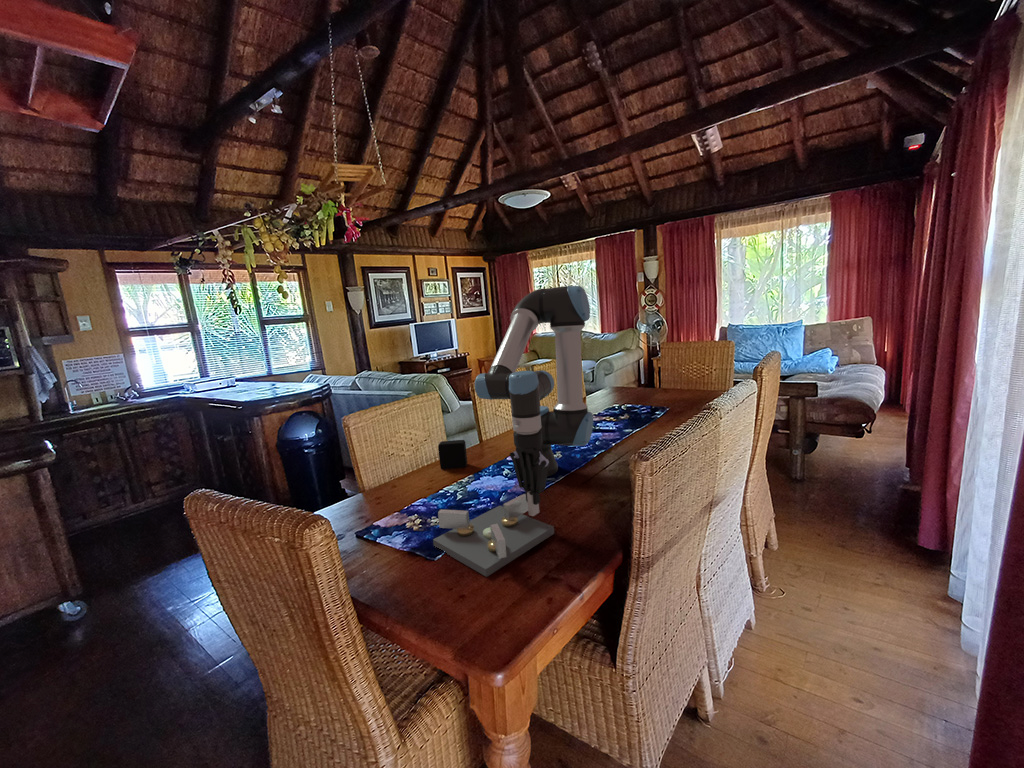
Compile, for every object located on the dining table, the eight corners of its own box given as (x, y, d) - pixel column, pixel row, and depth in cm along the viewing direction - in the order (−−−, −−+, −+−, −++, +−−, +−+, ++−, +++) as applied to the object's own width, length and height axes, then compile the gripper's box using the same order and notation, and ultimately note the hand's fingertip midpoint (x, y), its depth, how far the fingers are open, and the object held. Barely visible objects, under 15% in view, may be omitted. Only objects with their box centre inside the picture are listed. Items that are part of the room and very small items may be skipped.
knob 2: (486, 544, 111) (484, 523, 110) (503, 540, 112) (501, 520, 111) (494, 564, 102) (491, 542, 101) (512, 560, 103) (510, 538, 102)
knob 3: (509, 528, 118) (508, 509, 117) (498, 523, 121) (496, 504, 120) (533, 515, 124) (531, 496, 123) (522, 510, 127) (520, 492, 126)
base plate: (500, 511, 133) (499, 501, 132) (554, 533, 118) (553, 522, 117) (433, 546, 117) (432, 535, 116) (486, 577, 102) (485, 564, 101)
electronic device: (466, 467, 171) (463, 442, 169) (440, 469, 172) (437, 444, 170) (467, 463, 175) (465, 439, 174) (442, 465, 176) (439, 441, 174)
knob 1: (476, 528, 120) (474, 508, 119) (470, 536, 116) (468, 516, 115) (444, 526, 122) (442, 507, 121) (438, 534, 118) (435, 514, 117)
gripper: (499, 430, 119) (507, 512, 123) (536, 438, 109) (543, 526, 114) (519, 423, 124) (526, 502, 128) (555, 430, 115) (561, 515, 119)
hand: (534, 513), depth 121 cm, fingers closed
